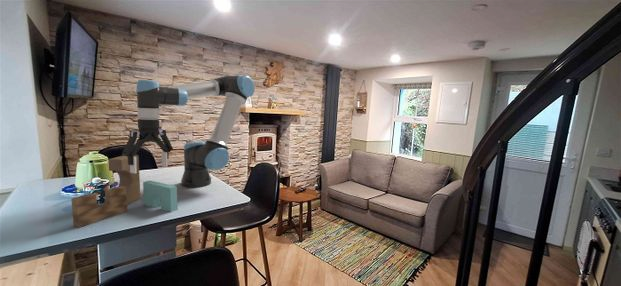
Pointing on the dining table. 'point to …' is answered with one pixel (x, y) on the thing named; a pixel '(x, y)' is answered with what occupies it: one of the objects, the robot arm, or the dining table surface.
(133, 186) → the decorative block
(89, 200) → the walnut board
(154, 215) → the dining table surface
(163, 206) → the teal board
